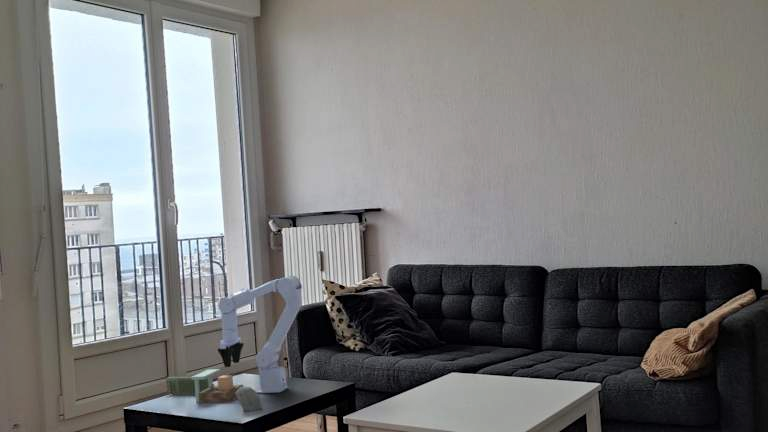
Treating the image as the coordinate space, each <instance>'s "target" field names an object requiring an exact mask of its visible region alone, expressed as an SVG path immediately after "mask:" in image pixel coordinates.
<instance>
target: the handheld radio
mask: <svg viewBox="0 0 768 432" xmlns="http://www.w3.org/2000/svg"><path fill="white" fill-rule="evenodd" d="M191 377H192V376H190V375H189V376H168V377H166V378H165V381H166V389H167V395H196V393H195V382H194V380H192V379H191ZM213 377H214V375H212V382H214V378H213ZM214 385H215V384H214V383H213V386H214ZM199 386H200V392H202V391H204V390H206V389H208V378H206V379H199Z"/></svg>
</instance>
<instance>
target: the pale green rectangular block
mask: <svg viewBox="0 0 768 432" xmlns="http://www.w3.org/2000/svg"><path fill="white" fill-rule="evenodd" d="M219 373H221V369H220V368H215V369H214V368H213V369H212V368H210V369H206V370H204V371H202V372H199V373H197V374H195V375H193V376H192V377H191V379H192V380H194V382H195V393H196V394H195V401H196V402H195V403H196V404H198V403H199V394H198V393H200V386H199V379H206V378H208V388H210V387H212V386H213V384H214V383H213V381H212V379H213V377H212V376H215V375H216V374H219Z"/></svg>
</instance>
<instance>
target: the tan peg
mask: <svg viewBox="0 0 768 432" xmlns="http://www.w3.org/2000/svg"><path fill="white" fill-rule="evenodd" d="M233 377H234V376H233V374H228V375H227V374H225V375H220V376H218V377H217V385H218V390H219V391H223V390H231V389H233V385H234V379H233Z"/></svg>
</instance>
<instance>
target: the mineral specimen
mask: <svg viewBox="0 0 768 432" xmlns="http://www.w3.org/2000/svg"><path fill="white" fill-rule="evenodd" d="M235 394H236V396H237V398H236V399H237V401H238V402H239V404H240V406H241V408H242V410H243V411H244V412H245V411H246V412H252V411H256V410H260V409H263V404H262V402H261V399H260V396H259V395H258V393H257V391H256V390H255V389H253V388H252V387H250V386H243V387H242V386H241V387H240V388H238V390H237V391H236V392H235Z"/></svg>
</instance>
